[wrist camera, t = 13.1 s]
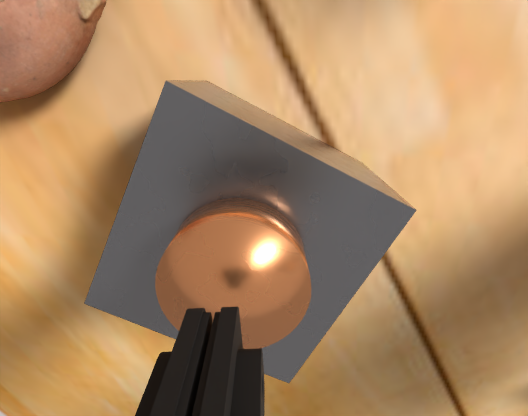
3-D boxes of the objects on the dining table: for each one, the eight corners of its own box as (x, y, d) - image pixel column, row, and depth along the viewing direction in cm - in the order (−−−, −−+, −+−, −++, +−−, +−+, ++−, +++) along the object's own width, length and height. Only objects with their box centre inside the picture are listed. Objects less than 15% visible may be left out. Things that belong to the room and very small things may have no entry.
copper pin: (309, 183, 22) (341, 262, 13) (267, 255, 25) (267, 370, 15) (226, 141, 21) (190, 192, 12) (189, 220, 24) (133, 318, 14)
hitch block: (362, 163, 23) (416, 210, 15) (282, 289, 27) (288, 383, 18) (206, 80, 21) (165, 80, 13) (146, 229, 25) (84, 303, 17)
